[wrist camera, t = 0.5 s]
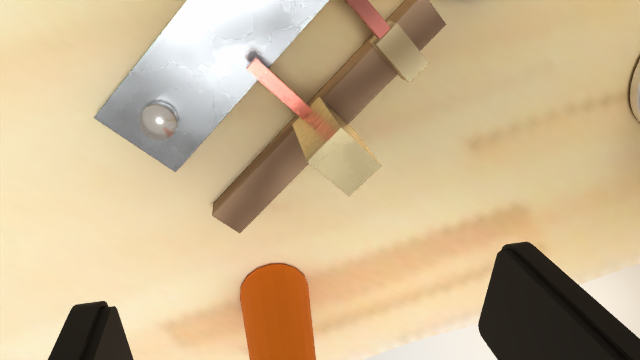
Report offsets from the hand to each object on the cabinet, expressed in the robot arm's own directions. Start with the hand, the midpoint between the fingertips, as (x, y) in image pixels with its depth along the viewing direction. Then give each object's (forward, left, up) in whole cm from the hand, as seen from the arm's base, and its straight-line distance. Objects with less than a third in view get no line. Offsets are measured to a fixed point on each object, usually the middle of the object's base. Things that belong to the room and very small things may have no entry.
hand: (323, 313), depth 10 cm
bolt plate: (+4, -1, -24) cm, 25 cm away
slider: (-3, -1, -22) cm, 22 cm away
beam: (-3, -1, -24) cm, 25 cm away
